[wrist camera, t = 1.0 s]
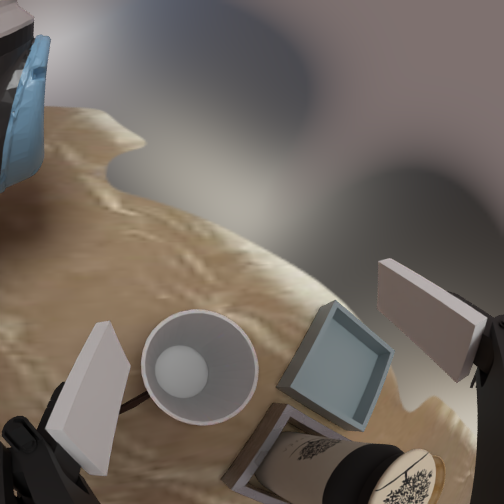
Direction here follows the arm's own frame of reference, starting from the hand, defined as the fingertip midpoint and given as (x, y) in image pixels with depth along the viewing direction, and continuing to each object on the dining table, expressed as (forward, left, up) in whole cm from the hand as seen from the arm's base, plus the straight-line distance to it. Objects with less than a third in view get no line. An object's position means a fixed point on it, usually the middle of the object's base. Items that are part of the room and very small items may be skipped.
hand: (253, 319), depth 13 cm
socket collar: (+17, -4, -18) cm, 25 cm away
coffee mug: (0, -3, -19) cm, 19 cm away
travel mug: (+17, -4, -19) cm, 25 cm away
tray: (+17, +9, -18) cm, 26 cm away
